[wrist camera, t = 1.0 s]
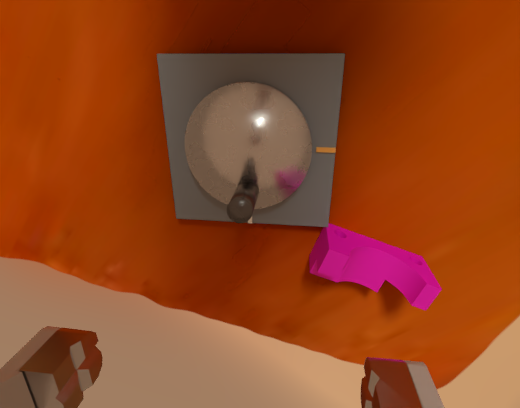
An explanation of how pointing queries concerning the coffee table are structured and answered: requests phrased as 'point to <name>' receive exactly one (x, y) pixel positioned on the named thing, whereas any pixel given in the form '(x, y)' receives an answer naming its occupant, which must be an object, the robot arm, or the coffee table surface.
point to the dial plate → (273, 74)
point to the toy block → (372, 265)
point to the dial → (248, 147)
